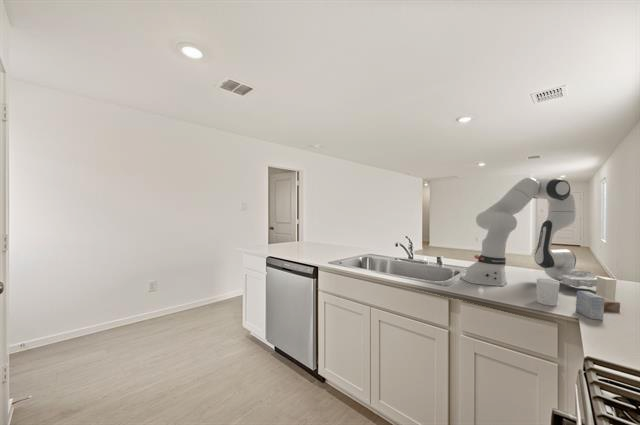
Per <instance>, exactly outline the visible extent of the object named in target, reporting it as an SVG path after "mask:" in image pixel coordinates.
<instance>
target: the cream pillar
mask: <svg viewBox="0 0 640 425" xmlns="http://www.w3.org/2000/svg"><path fill="white" fill-rule="evenodd" d="M616 292H617V279H615V278H611V277H608V276H602V277H597V285H596V288H595V294H596V295H600V296H602V297H605V298H608V299H611V300H614V301H616Z"/></svg>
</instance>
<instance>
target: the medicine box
mask: <svg viewBox="0 0 640 425" xmlns="http://www.w3.org/2000/svg"><path fill="white" fill-rule="evenodd" d="M575 299H576V301H575V312H577V313H579V314H581V315H583V316H585V317H587V318H588V319H590V320H599V321H603V320H604V312H605V311H604V298H603V297H601V296H598V295H596V293H594V292H591V291H586V290H577V291H576V298H575Z"/></svg>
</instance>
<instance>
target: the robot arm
mask: <svg viewBox="0 0 640 425" xmlns="http://www.w3.org/2000/svg"><path fill="white" fill-rule="evenodd" d="M533 199H544V200H547V202H548V215H547V217H546V220H545V221H544V222H543V223H542V225H541V227H540V231H539V238H538V244H537V248H536V251H535V253H534V256H533V258H534V262H535V263H536V264H537V265H538V266H539V267H540V268H542V269H543V270H544V273H545V274H546V275H547V276H548V278H551V279H552V280H554V281H558V282H559V283H560V282H561V283H562V284H566V285H567V286H570V287H571V286H572V287H575V288H579V287H586V288H595V287H596V285H597V277H603V276H601V275H598V274H595V273H594V272H591V271H583V270H580V269H577V268H576V264H577V258H576V255H575V254H574V252H573V251H572V250H569V249H567V248H559V249H557V248H556V249H551V248H552V242H553V237H554V235H555V234H556V233H557V232H558V231H561V230H562V229H565V228H567V227H569V226H572V224H574V222H575V220H576V210H577V209H576V202H575V198H574V194H573V193H572V192H571V185H570V183H569V181H567V180H566V179H562V178H542V179H535V178H533V177H525V178H523V179H521V180H519V181H518V182H517V183H515V184H514V185H513V186H512V187H511V188H510V189H509V190H508V191H507V192H506V193H505V195H503V196H502V198H501V199H499V200H498V201H497V202H496V203H494V204H493V205H491V206H489V207H488V208H487V209H486V210H484V211H482V212H480V213H478V214H477V216H476V218H475V222H476V224H477V226H478V227H480V228H481V229H483V230H486V231H487V234H486V236H485V238H484V239H483V240H482V242H481V254H480V255H477V254H474V259H477V261H476V262H474V263H472V264H470V265H469V266H468V267H467V268H466V269H465V274H461V275H460V278H461V279H462V280H463V281H465V282H468V283H470V284H473V285H483V286H484V285H485V286H496V287H497V286H498V287H505V285H507V284H508V282H507V277H506V268H505V267H506V260H507V259H506V258H507V257H506V245H507V241H508V238H509V236H510V234H511V233H512V232H513V231H514V230H515V229H516V228H517V225H518V221H517V218H516V217H515V216H514V215H516V214H518V213H520V212H521V211H522V210H523V209H525V207H526V206H527V205H528V204H529V203H530V202H531V200H533ZM575 268H576V269H575Z"/></svg>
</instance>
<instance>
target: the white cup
mask: <svg viewBox="0 0 640 425" xmlns="http://www.w3.org/2000/svg"><path fill="white" fill-rule="evenodd" d="M535 284H536V286H535V287H536V291H535V292H536V303H538V304H540V305H544V306H548V305H549V307H556V306H557V304H558V298H559V293H560V285H561V283H560V281H557V280H555V279H550V278H542V277H541V278H538V277H537V278H536V282H535Z"/></svg>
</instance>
